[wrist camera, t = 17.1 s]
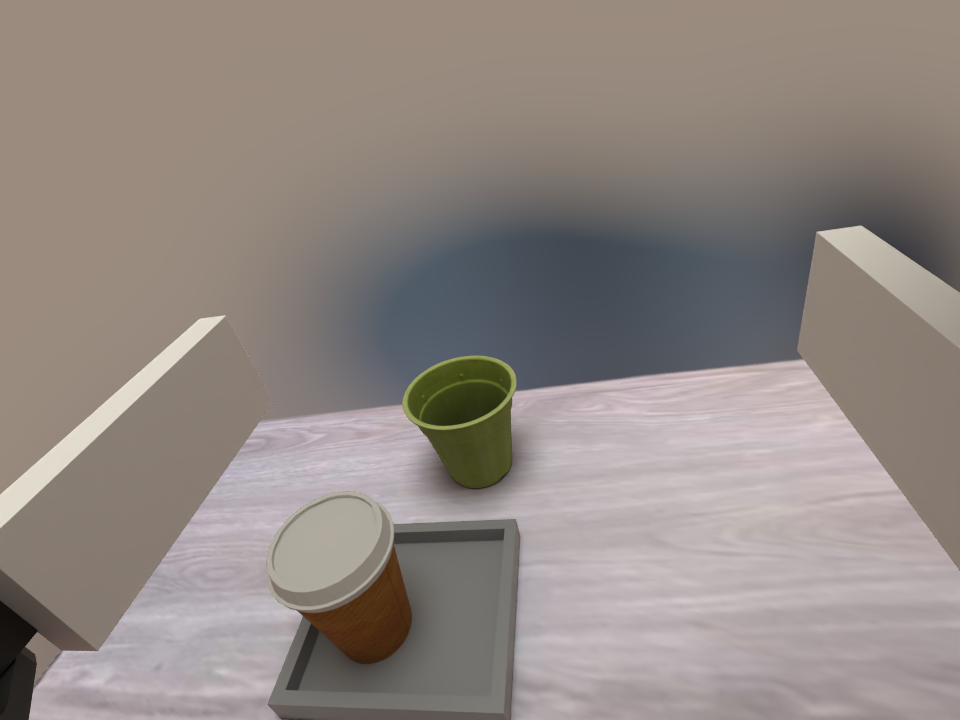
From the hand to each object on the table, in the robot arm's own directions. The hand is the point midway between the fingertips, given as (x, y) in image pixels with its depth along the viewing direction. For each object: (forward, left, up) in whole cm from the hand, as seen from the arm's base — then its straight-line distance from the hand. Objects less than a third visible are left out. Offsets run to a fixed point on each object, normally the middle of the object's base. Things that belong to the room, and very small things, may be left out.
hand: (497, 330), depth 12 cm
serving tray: (+15, -13, -35) cm, 40 cm away
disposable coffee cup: (+18, -12, -34) cm, 40 cm away
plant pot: (+11, -30, -35) cm, 48 cm away
